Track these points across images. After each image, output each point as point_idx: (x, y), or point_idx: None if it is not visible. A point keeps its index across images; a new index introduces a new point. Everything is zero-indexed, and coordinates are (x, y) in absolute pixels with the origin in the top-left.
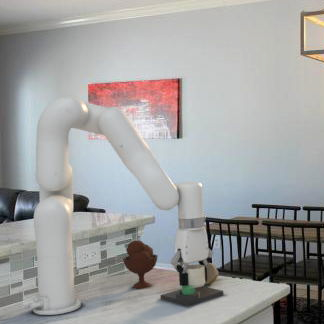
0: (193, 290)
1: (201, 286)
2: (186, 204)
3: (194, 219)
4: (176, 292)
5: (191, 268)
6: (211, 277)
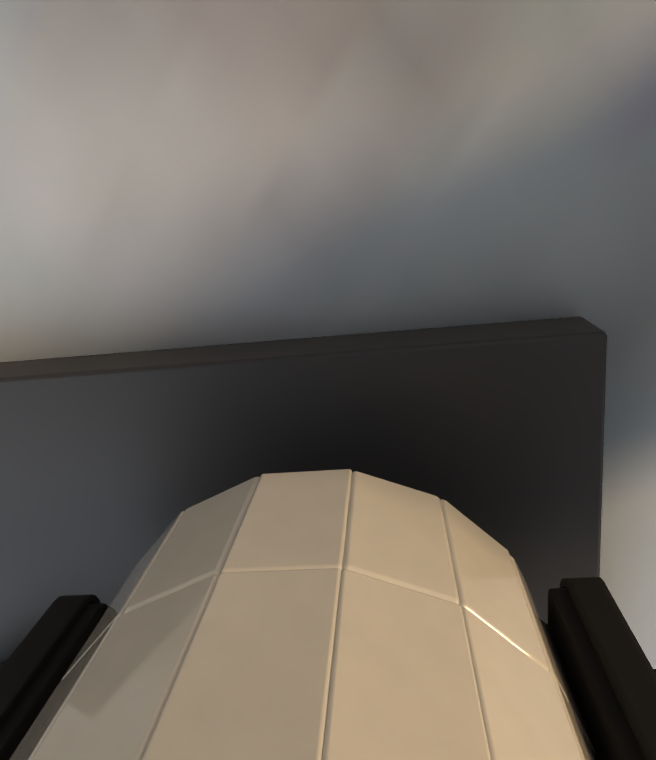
0: None
1: (576, 495)
2: None
3: None
4: (88, 466)
5: (448, 724)
6: None
